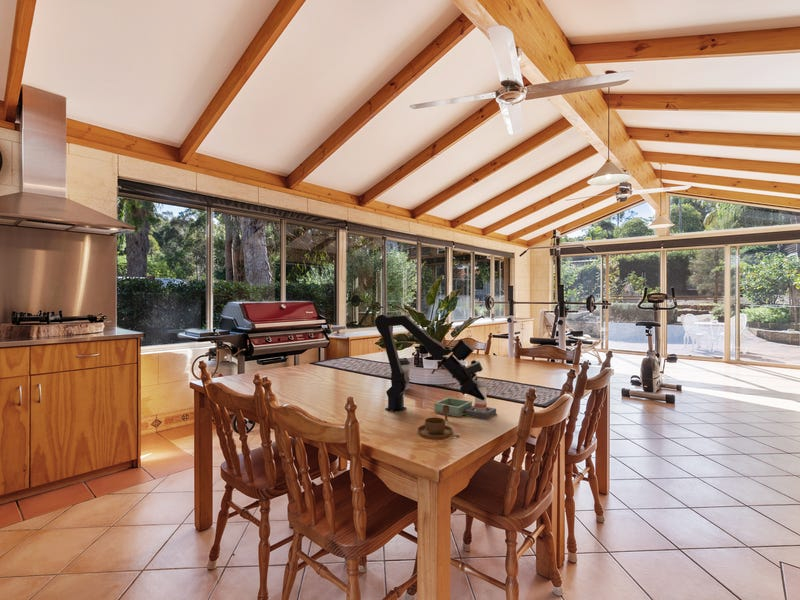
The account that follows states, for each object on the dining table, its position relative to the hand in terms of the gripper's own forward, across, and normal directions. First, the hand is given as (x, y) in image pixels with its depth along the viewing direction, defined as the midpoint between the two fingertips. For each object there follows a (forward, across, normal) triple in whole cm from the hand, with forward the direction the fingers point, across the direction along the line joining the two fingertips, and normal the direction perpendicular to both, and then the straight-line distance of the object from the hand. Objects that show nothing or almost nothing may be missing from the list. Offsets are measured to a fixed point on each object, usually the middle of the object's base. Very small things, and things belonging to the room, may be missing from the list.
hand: (484, 397), depth 156 cm
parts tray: (-4, +3, +13) cm, 14 cm away
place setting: (-4, -20, +15) cm, 26 cm away
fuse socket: (+4, 0, +6) cm, 7 cm away
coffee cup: (-24, +36, +34) cm, 55 cm away
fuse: (+4, 0, +6) cm, 7 cm away
